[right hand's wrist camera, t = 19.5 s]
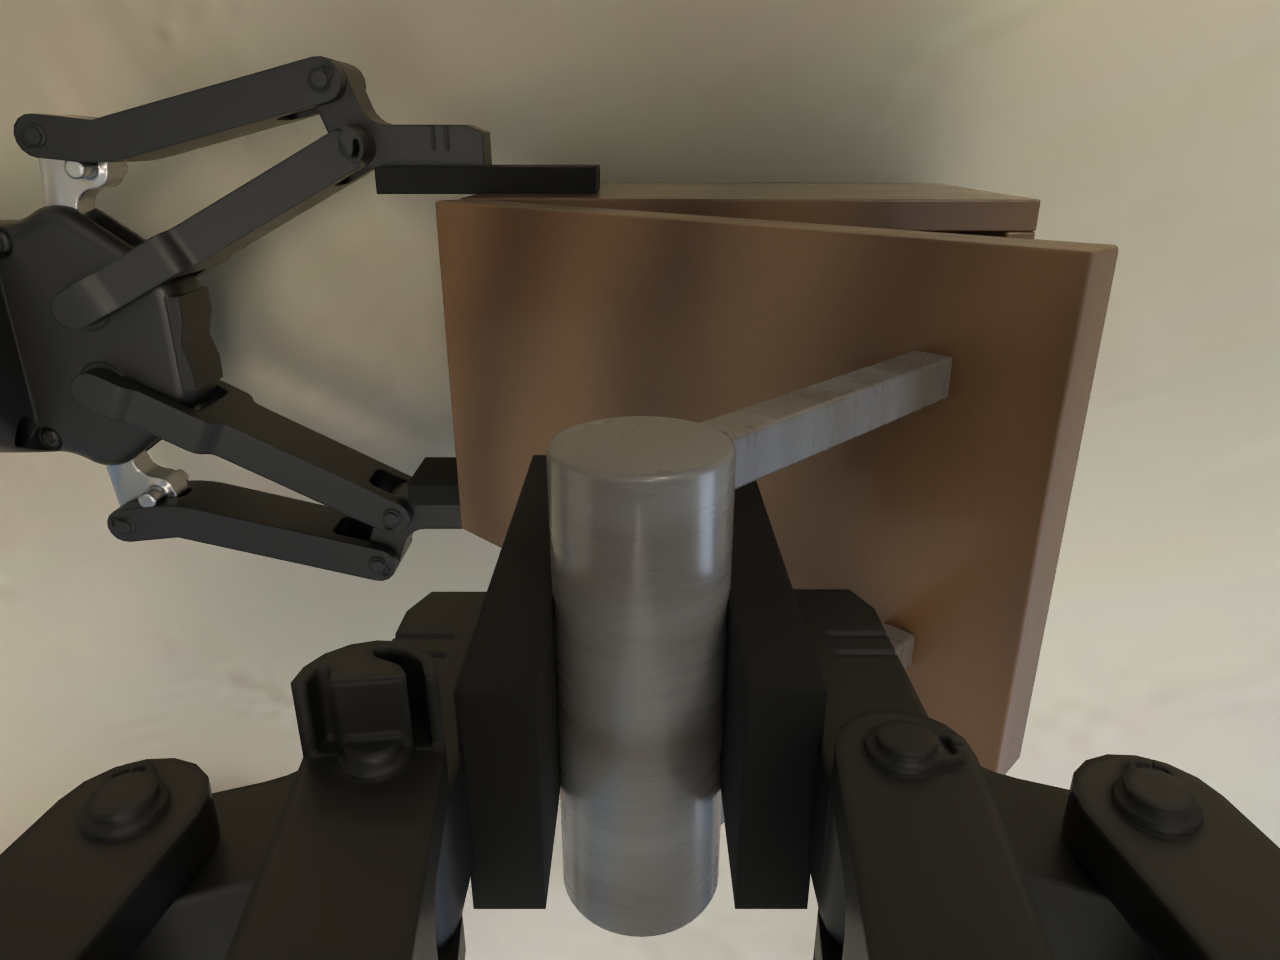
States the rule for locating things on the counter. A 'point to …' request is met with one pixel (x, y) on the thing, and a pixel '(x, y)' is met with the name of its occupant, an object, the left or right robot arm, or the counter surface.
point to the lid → (760, 477)
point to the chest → (816, 204)
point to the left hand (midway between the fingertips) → (600, 339)
